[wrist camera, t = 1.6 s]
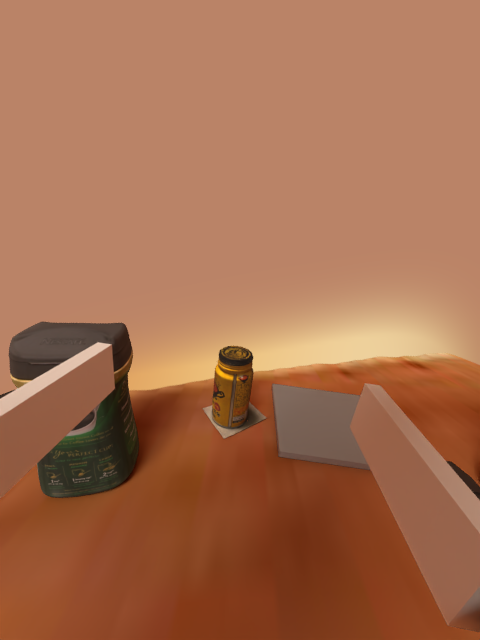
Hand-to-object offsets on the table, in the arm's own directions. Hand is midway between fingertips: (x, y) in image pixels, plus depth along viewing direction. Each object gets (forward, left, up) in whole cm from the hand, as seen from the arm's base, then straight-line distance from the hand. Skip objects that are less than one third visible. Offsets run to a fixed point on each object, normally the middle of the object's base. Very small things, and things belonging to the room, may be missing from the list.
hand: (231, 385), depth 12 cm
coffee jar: (+16, -9, -21) cm, 28 cm away
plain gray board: (-16, -22, -21) cm, 34 cm away
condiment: (0, -21, -21) cm, 29 cm away
